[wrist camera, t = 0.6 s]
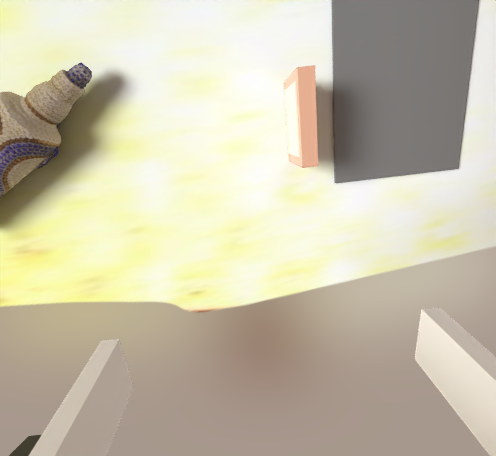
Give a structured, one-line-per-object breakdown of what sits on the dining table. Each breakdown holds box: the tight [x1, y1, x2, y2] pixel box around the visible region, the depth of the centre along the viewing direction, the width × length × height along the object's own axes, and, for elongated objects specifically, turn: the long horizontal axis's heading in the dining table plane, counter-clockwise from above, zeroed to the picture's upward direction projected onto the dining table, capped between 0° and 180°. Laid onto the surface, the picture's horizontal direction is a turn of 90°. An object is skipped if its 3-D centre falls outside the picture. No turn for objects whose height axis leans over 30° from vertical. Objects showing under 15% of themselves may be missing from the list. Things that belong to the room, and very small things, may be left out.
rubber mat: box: [332, 0, 479, 183], centre depth 33 cm, size 22×16×1 cm
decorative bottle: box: [0, 63, 92, 198], centre depth 31 cm, size 26×8×7 cm, turn 126°
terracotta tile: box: [284, 65, 318, 168], centre depth 31 cm, size 9×2×8 cm, turn 6°
